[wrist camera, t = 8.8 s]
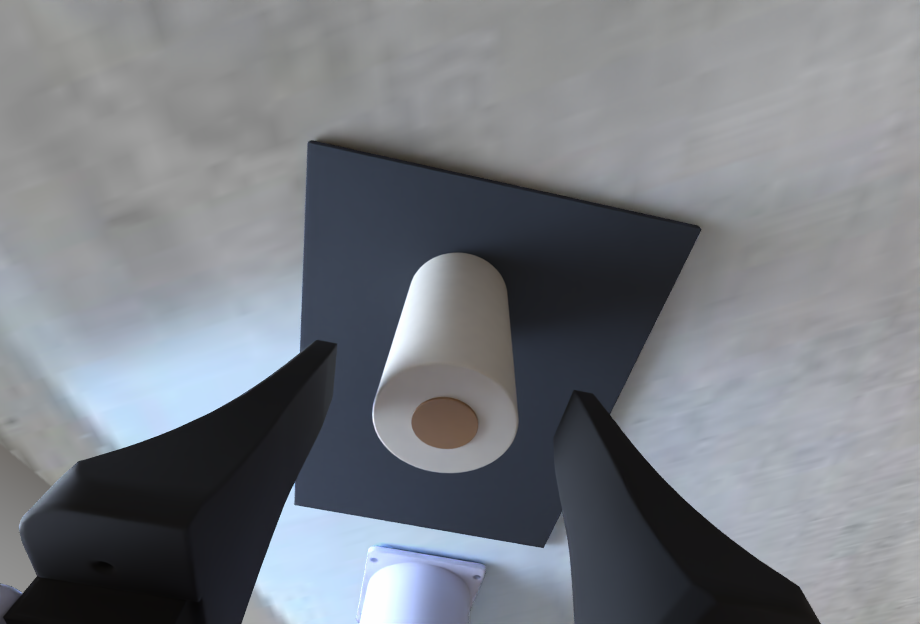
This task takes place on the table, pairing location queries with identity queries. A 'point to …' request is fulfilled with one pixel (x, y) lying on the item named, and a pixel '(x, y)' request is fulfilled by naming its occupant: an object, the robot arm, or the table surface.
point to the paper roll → (450, 370)
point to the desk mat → (531, 322)
